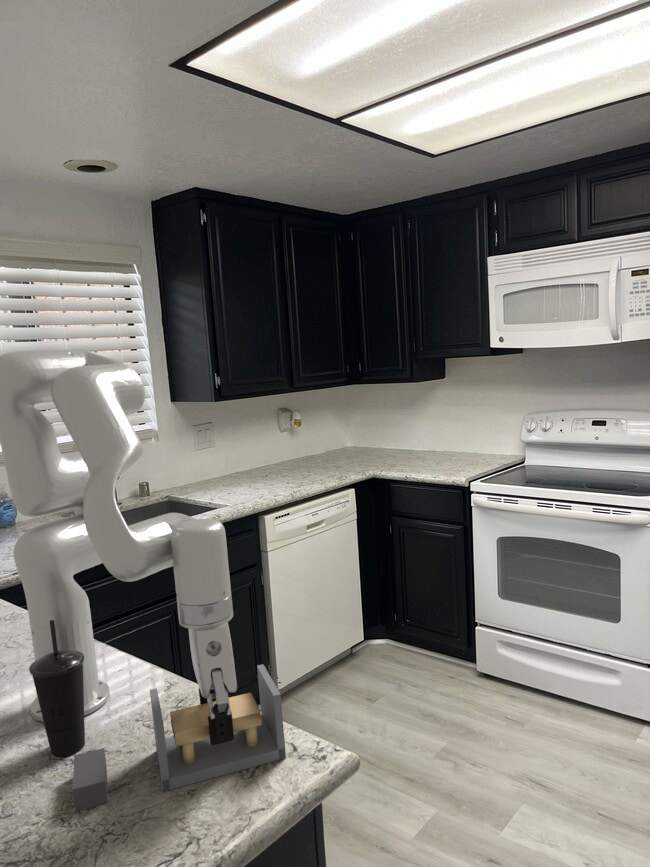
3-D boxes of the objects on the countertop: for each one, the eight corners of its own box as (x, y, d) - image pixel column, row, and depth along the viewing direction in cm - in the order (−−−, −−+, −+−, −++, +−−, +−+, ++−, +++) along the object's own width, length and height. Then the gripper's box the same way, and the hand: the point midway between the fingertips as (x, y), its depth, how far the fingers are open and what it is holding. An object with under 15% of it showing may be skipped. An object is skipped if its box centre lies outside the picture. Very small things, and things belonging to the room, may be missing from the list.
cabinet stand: (156, 750, 96) (149, 689, 95) (268, 722, 101) (263, 664, 100) (162, 791, 86) (155, 724, 85) (285, 757, 92) (280, 694, 91)
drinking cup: (40, 742, 100) (24, 617, 98) (92, 727, 103) (78, 607, 101) (40, 769, 93) (22, 636, 91) (96, 753, 96) (80, 623, 94)
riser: (76, 775, 91) (74, 755, 91) (106, 767, 93) (104, 748, 92) (75, 811, 84) (72, 789, 83) (107, 802, 85) (105, 781, 85)
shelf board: (252, 704, 98) (251, 692, 98) (261, 725, 92) (260, 711, 92) (171, 724, 94) (169, 711, 94) (176, 747, 89) (174, 733, 88)
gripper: (244, 625, 84) (256, 752, 86) (221, 584, 101) (231, 692, 103) (186, 637, 82) (199, 767, 84) (171, 593, 98) (183, 703, 100)
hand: (217, 725), depth 93 cm, fingers open, 7 cm apart
